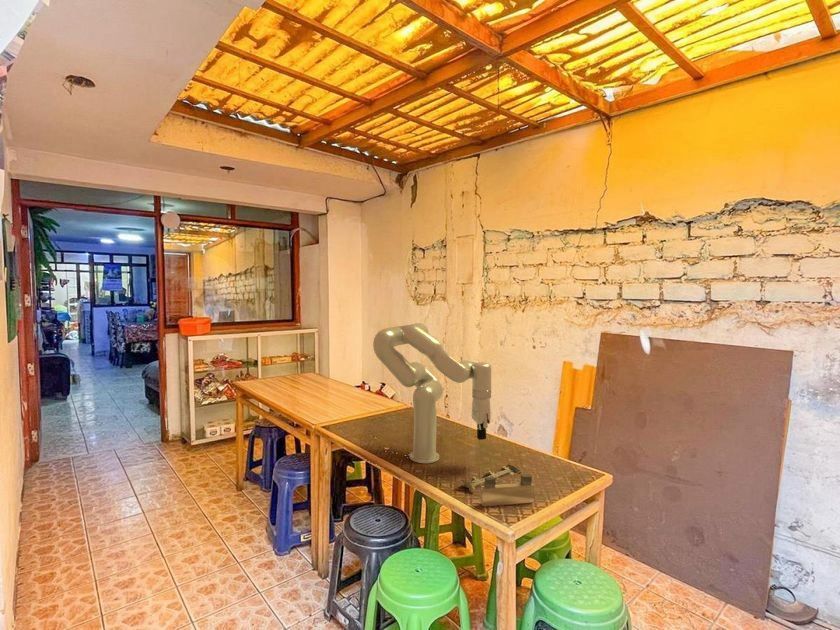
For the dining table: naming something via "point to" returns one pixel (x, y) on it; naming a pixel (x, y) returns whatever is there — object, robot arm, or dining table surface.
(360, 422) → the dining table surface
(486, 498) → the notched board
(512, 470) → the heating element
